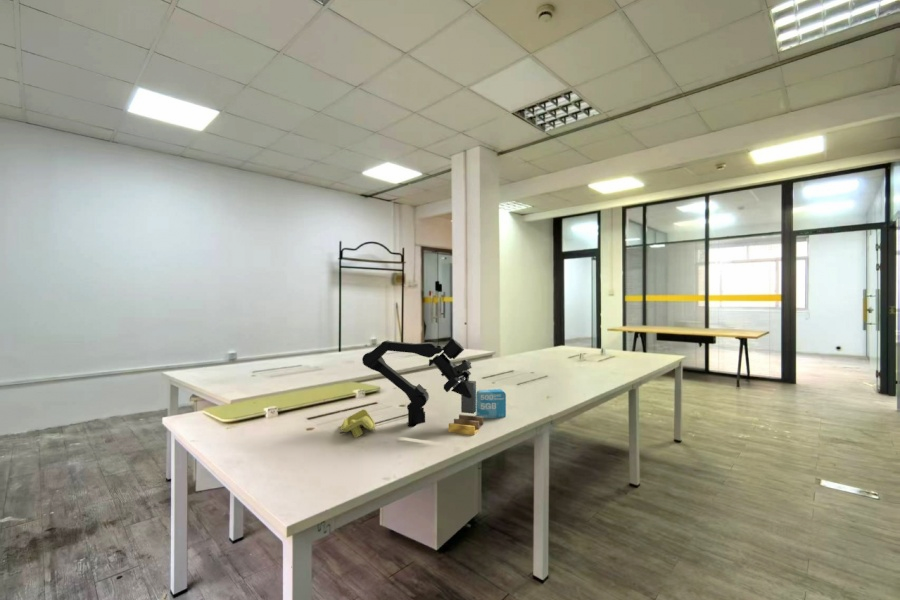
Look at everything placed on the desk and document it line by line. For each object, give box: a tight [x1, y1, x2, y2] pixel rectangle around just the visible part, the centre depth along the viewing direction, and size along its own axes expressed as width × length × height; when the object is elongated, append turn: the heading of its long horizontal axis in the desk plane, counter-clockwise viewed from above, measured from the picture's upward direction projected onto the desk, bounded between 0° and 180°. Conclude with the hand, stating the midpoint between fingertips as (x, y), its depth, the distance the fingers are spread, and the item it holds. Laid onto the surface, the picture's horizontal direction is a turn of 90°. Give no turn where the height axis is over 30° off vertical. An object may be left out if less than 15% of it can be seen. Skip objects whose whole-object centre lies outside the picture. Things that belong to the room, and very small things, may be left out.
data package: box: [475, 388, 507, 419], centre depth 163 cm, size 12×4×12 cm, turn 98°
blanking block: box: [460, 380, 477, 414], centre depth 150 cm, size 5×4×12 cm
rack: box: [448, 413, 484, 436], centre depth 147 cm, size 10×13×4 cm
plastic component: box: [340, 409, 376, 438], centre depth 146 cm, size 20×7×10 cm
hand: (472, 396), depth 150 cm, fingers closed on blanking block, 3 cm apart
